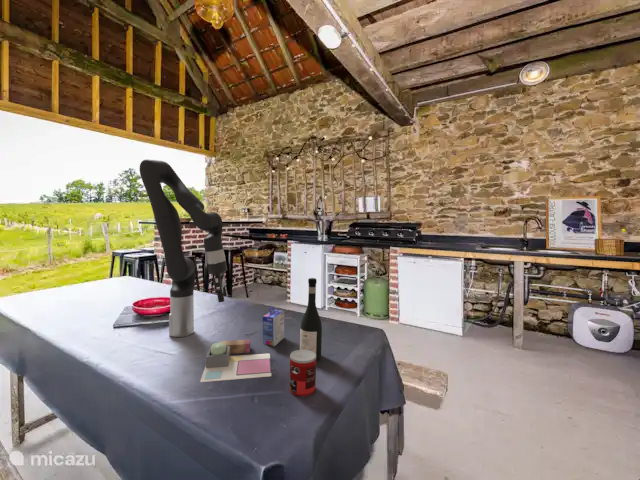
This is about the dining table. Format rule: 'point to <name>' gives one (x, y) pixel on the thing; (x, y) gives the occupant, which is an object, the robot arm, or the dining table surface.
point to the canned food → (302, 372)
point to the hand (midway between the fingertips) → (222, 298)
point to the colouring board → (240, 368)
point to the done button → (218, 349)
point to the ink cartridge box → (273, 327)
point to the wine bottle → (311, 324)
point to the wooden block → (238, 346)
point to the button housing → (218, 359)
